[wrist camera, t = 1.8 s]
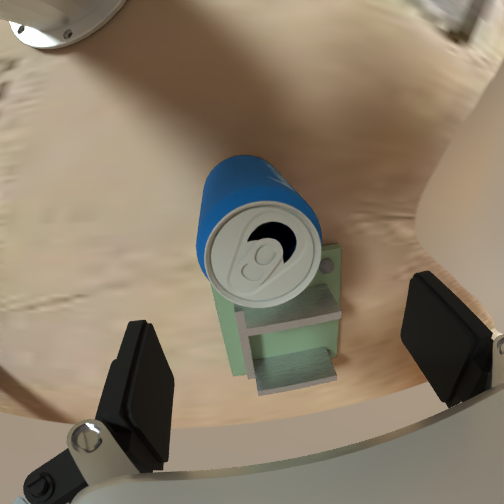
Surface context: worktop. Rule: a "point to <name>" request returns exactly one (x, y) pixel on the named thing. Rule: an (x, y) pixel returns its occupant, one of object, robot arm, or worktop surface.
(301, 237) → the beverage can
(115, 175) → the worktop surface
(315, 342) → the deck plate
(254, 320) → the bracket
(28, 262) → the worktop surface
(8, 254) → the worktop surface
